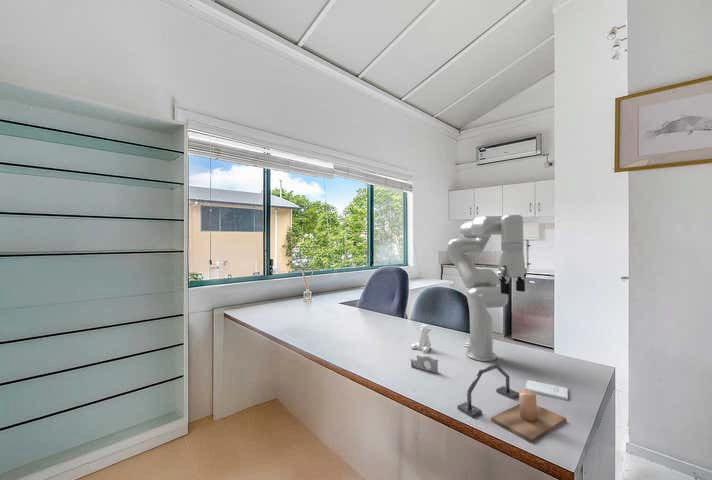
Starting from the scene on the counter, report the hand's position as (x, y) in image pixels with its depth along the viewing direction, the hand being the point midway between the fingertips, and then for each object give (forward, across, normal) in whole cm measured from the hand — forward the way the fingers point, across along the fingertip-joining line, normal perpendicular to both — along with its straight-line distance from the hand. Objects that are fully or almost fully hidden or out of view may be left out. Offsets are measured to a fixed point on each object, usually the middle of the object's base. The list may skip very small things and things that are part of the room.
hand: (513, 292), depth 119 cm
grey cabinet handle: (+33, +22, +5) cm, 40 cm away
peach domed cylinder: (+32, +22, +18) cm, 43 cm away
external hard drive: (+34, -1, +11) cm, 36 cm away
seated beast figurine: (+34, +5, -44) cm, 56 cm away
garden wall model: (+34, +21, -26) cm, 48 cm away
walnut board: (+33, +22, +18) cm, 44 cm away
